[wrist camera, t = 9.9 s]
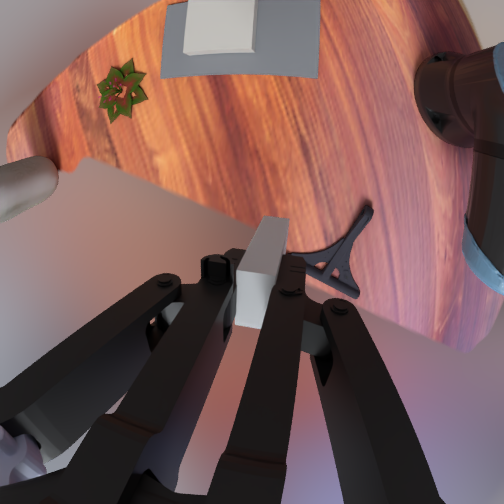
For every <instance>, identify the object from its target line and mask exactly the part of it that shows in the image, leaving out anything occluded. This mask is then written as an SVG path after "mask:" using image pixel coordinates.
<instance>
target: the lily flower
mask: <svg viewBox="0 0 504 504" xmlns="http://www.w3.org/2000/svg"><path fill="white" fill-rule="evenodd" d="M132 61H133V58H132V59H131V60H130V61H129V62H128V63H126V64H125V65H124V66H123V67H122V68H121V70H120V71H119V70H117V69H115V68H113V67H112V66H111V69H110V71H109V74H108V76H107V79H106V80H104V81H102V82H101V83H100V84H97V86H98V88H99V91H100V93H101V94H102V97H101V96H100V97H101V100H100V106H99V108H104V109H106V108H108V116H109V119H110V120H111V121H110V124H111V123H112V122H113V121H114V119H116V118H117V117H118V116H119V115H120V114H122V115H125V116H129V118H131V105H134V104H137V103H140V102H142V101H144V100H148V98H147V97H146V96H145V95H144V92H143V91H142V90H141V88H140V87H139V86H138V85H139V84H140V82H141V81H142V79H143V77H144V76H145V75H146V74H141V73H140V74H139V73H134V68H133V62H132ZM126 74H127V76H126V77H125V79H124V78H123V77H124V76H125V75H126ZM118 85H120V86H121V85H124V86H126V87H127V90H126V93H125V96H124V98H120V97H118V95H119V94H120V93H122V89H121V87H119V86H118ZM108 86H109V87H110V88H111V89H109V90H108V88H106V87H108ZM118 87H119V89H120V90H119V89H117V88H118ZM132 92H134V93H135V95H136V96H134V97H131V96H130V93H132ZM116 93H119V94H118V95H117V96H115V94H116ZM98 98H99V97H98ZM115 104H116V108H117V110H116V112H115V113H114V105H115Z"/></svg>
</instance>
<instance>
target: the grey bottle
mask: <svg viewBox="0 0 504 504" xmlns="http://www.w3.org/2000/svg"><path fill="white" fill-rule="evenodd" d="M58 178H59V177H58V171H57V169H56V167H55V165H54V163H53V162H52V161H51V160H50V159H48V158H46V157H43V156H33V157H29V158H25V159H22V160H18V161H15V162H12V163H8V164H5V165H2V166H0V223H2V222H5V221H7V220H10V219H12V218H13V217H15V216H17V215H18V214H20V213H22V212H24V211H25V210H28V209H30V208H32V207H34V206H36V205H38V204H40V203H42V202H43V201H45V200H46V199H47V198H48V197H50V196H51V195H52V194H53V192H54V191H55V189H56V187H57V185H58Z"/></svg>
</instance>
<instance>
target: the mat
mask: <svg viewBox="0 0 504 504" xmlns="http://www.w3.org/2000/svg"><path fill="white" fill-rule="evenodd" d="M187 8H188V2H184V3H179V4H173V5H168V6H167V12H166V20H165V29H164V39H163V49H162V61H161V76H160V79H166V78H176V77H187V76H201V75H226V74H255V75H279V76H294V77H305V78H314V79H318V62H319V37H320V0H258V11H257V26H256V42H255V53H218V54H203V55H192V56H189V55H187V54H185V53H183V47H184V35H185V25H186V16H187Z"/></svg>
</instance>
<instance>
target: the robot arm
mask: <svg viewBox="0 0 504 504" xmlns="http://www.w3.org/2000/svg"><path fill="white" fill-rule="evenodd" d="M414 93H415V99H416V103H417V107H418V109H419V112H420V114H421V116H422V118H423V120H424V121H425V123H426V124H427V126H428V127H429V128H430V130H431V131H432V132H433V133H434V134H435V135H436V136H438V137H439V138H440V139H442V140H443V141H445V142H447V143H449V144H451V145H455V146H459V147H464V148H471V147H474V151H473V164H472V175H471V184H470V191H469V198H468V205H467V211H466V213H465V215H464V225H465V226H464V232H463V239H462V252H463V255H464V257H465V260H466V263H467V264H468V266H469V267H470V269H471V270H472V271H473V273H474V274H475V275H476V276H477V277H478V278H479V279H480V280H481V281H482V282H484V283H485V284H486V285H487V286H488V287H490V288H491V289H493V290H494V291H496V292H498V293H499V294H502V295H504V42H501V43H499V44H498V45H496V46H493V47H490V48H487V49H484V50H481V51H478V52H475V53H472V54H469V55H464V54H460V53H456V52H440V53H437V54H435V55H433V56H431V57H429V58H427V59H426V60H425V61H424V62H423V63H422V64H421V65H420V67H419V69H418V71H417V73H416V77H415V83H414ZM288 227H289V219H287V218H279V217H271V216H263V218H262V220H261V222H260V224H259V226H258V228H257V230H256V232H255V234H254V236H253V238H252V240H251V242H250V244H249V246H248V248H247V250H243V249H235V248H232V249H230V250H228V251H227V252H226V253H225V254H224V255H219V254H214V255H208V256H205V257H203V258H202V259H201V279H200V280H199V282H198V283H196V284H181V279H180V278H179V276H177V275H174V274H170V273H163V274H159V275H156V276H154V277H152V278H151V279H149V280H148V281H146V282H145V283H144V284H142V285H141V286H139V287H138V288H136V289H135V290H133V291H132V292H131V293H129V294H128V295H126V296H125V297H123V298H122V299H121V300H119V301H118V302H116V303H115V304H113V305H112V306H111V307H109V308H108V309H107V310H105V311H103V312H102V313H101V314H99V315H98V316H96V317H95V318H94V319H92V320H91V321H90V322H88V323H87V324H85V325H84V326H83V327H81V328H80V329H79V330H77V331H76V332H74V333H73V334H72V335H70V336H69V337H68V338H66V339H65V340H64V341H62V342H61V343H60V344H58V345H57V346H56V347H54V348H53V349H52V350H50V351H49V352H48V353H46V354H45V355H44V356H42V357H41V358H40V359H38V360H37V361H36V362H34V363H33V364H32V365H31V366H29V367H28V368H27V369H25V370H24V371H23V372H22V373H20V374H19V375H18V376H16V377H15V378H14V379H13V380H12V381H10V382H9V383H8V384H6V385H5V386H3V387H1V388H0V504H281V499H282V493H283V488H284V483H285V477H286V469H287V465H286V457H287V450H288V444H289V438H290V430H291V425H292V417H293V410H294V403H295V395H296V387H297V379H298V370H299V362H300V352H301V351H304V352H306V353H309V354H310V360H311V364H312V368H313V372H314V376H315V380H316V384H317V388H318V391H319V395H320V400H321V404H322V408H323V412H324V416H325V420H326V425H327V429H328V433H329V437H330V442H331V445H332V450H333V455H334V459H335V464H336V468H337V472H338V477H339V482H340V486H341V491H342V495H343V501H344V504H446V503H445V502H444V501H443V500H442V499H441V498H440V497H439V494H438V491H437V488H436V485H435V482H434V479H433V477H432V474H431V471H430V468H429V466H428V463H427V460H426V458H425V455H424V453H423V450H422V448H421V445H420V443H419V440H418V438H417V435H416V433H415V430H414V428H413V426H412V423H411V421H410V419H409V416H408V414H407V412H406V409H405V407H404V405H403V403H402V401H401V398H400V396H399V394H398V392H397V389H396V387H395V385H394V383H393V381H392V379H391V376H390V374H389V372H388V370H387V368H386V366H385V364H384V362H383V360H382V358H381V356H380V354H379V352H378V350H377V348H376V346H375V344H374V342H373V340H372V338H371V336H370V334H369V332H368V330H367V328H366V326H365V324H364V322H363V320H362V318H361V316H360V314H359V313H358V311H357V309H356V307H355V306H354V305H353V304H352V303H350V302H349V301H347V300H344V299H339V298H332V299H328V300H326V301H325V302H324V303H323V304H320V303H317V302H315V301H313V300H311V299H310V298H309V297H308V296H307V295H306V293H305V278H306V261H305V260H304V258H303V257H300V256H292V255H285V254H286V245H287V236H288ZM154 317H155V322H153V323H152V324H150V320H152V319H153V318H154ZM234 318H235V325H240V326H246V327H251V328H258V329H261V331H260V334H259V338H258V342H257V345H256V349H255V353H254V356H253V360H252V363H251V367H250V370H249V374H248V377H247V381H246V384H245V387H244V391H243V394H242V398H241V401H240V404H239V408H238V411H237V414H236V418H235V421H234V425H233V428H232V431H231V434H230V437H229V441H228V444H227V447H226V449H225V451H224V453H222V455H221V457H220V459H219V461H218V464H217V467H216V470H215V473H214V476H213V479H212V482H211V485H210V488H209V491H208V493H207V495H193V494H180V493H175V492H174V491H175V488H176V485H177V481H178V472H179V467H180V464H181V461H182V459H183V456H184V454H185V451H186V449H187V446H188V444H189V441H190V439H191V436H192V434H193V431H194V429H195V426H196V424H197V421H198V419H199V416H200V414H201V411H202V409H203V406H204V403H205V401H206V398H207V396H208V393H209V391H210V388H211V385H212V383H213V380H214V378H215V375H216V373H217V370H218V368H219V365H220V362H221V360H222V357H223V355H224V352H225V349H226V347H227V344H228V342H229V339H230V336H231V333H232V323H233V320H234ZM127 391H128V392H127ZM126 392H127V394H126V395H125V397H124V398H123V400H122V402H121V403H120V405H119V407H118V408H117V410H116V411H115V412H114V413H112V414H105V413H106V412H107V411H108V410H109V409H110V408H111V407H112V406H113V405H114V404H115V403H116V402H117V401H118V400H119V399H120V398H121V397H122V396H123V395H124V394H125V393H126ZM90 427H91V428H90ZM89 428H90V430H89V431H88V433H87V434H86V436H85V438H84V439H83V441H82V443H81V444H80V446H79V447H78V449H77V451H76V452H75V454H74V456H73V457H72V459H71V461H70V462H69V464H68V466H67V467H66V468H63V469H60V470H57V471H55V472H51V473H48V474H46V472H47V471H46V467H45V466H44V465H43V464H44V463H46V462H48V461H50V460H52V459H54V458H56V457H57V456H59V455H60V454H62V453H63V452H64V451H65V450H67V449H68V448H69V447H70V446H72V444H74V443H75V442H76V441H77V440H78V439H79V438H80V437H81V436H82V435H83V434H84V433H85V432H86V431H87V430H88V429H89Z"/></svg>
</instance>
